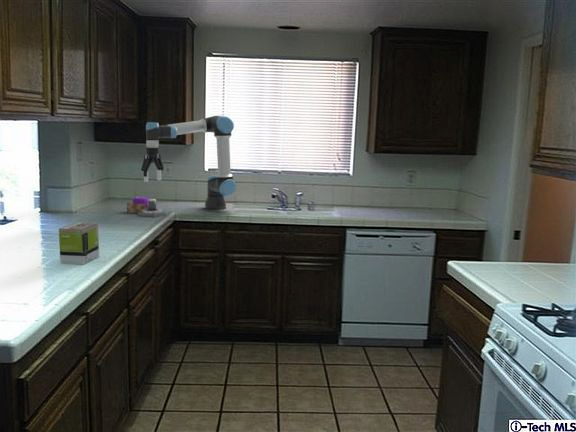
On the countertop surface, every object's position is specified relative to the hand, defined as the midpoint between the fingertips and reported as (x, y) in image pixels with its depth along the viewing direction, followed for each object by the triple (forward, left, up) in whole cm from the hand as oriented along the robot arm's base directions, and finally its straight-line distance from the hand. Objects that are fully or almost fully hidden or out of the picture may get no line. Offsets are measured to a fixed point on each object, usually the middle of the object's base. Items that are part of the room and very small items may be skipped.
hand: (152, 181), depth 344 cm
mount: (-1, +2, -22) cm, 22 cm away
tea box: (-49, +115, -22) cm, 127 cm away
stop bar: (+13, 0, -22) cm, 25 cm away
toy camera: (+13, -8, -22) cm, 27 cm away
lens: (-1, +2, -20) cm, 20 cm away
